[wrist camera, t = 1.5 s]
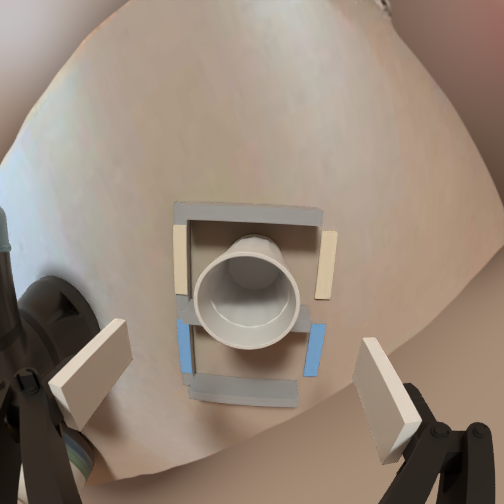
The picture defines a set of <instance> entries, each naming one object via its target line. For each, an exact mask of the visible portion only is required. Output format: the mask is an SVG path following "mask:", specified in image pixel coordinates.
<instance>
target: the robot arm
mask: <svg viewBox="0 0 504 504" xmlns="http://www.w3.org/2000/svg"><path fill="white" fill-rule="evenodd" d="M10 251H11V245H10V243H9V239H8V230H7V219H6V215H5V212H4V210H3V209H2V208H1V207H0V504H17V500H18V489H19V480H20V472H21V465H22V467H23V475H24V482H25V488H26V494H27V499H28V504H82V501H81V498H80V495H79V492H78V489H77V486H76V483H75V479H74V476H73V472H72V469H71V465H70V461H69V457H68V453H67V448H66V444H65V439H64V434H63V429H62V426H61V424H60V422H61V421H62V420H63V418H64V420H65V422H66V424H67V426H68V427H70V428H72V429H75V430H77V431H81V430H82V429H83V427H84V426H85V424H86V423H87V421H88V420H89V419H90V417H91V416H92V414H93V413H94V412H95V410H96V409H97V407H98V406H99V405H100V403H101V402H102V401H103V399H104V398H105V396H106V395H107V394H108V392H109V391H110V390H111V388H112V387H113V385H114V384H115V383H116V381H117V380H118V379H119V377H120V376H121V375H122V373H123V372H124V371H125V369H126V368H127V366H128V365H129V364H130V362H131V361H132V360H133V359H132V353H131V348H130V342H129V336H128V330H127V323H126V320H122V319H116V318H115V319H114V320H113V321H111V322H110V323H109V324H108V325H107V326H106V327H105V328H104V329H103V330H102V331H101V332H100V331H99V327H98V323H97V320H96V318H95V316H94V313H93V311H92V309H91V308H90V306H89V304H88V303H87V301H86V300H85V299H84V297H83V296H82V295H81V294H80V293H79V291H78V290H77V289H76V288H74V287H73V286H72V285H71V284H70V283H68V282H67V281H65V280H63V279H61V278H58V277H54V276H47V277H44V278H42V279H40V280H38V281H36V282H34V283H33V284H31V285H30V286H29V287H28V289H27V290H26V292H25V293H24V294H23V295H22V297H21V298H20V299H19V300H18V302H17V299H16V293H15V288H14V282H13V275H12V268H11V261H10ZM352 378H353V381H354V383H355V386H356V389H357V392H358V395H359V398H360V400H361V403H362V406H363V409H364V412H365V415H366V418H367V421H368V424H369V427H370V430H371V433H372V436H373V439H374V442H375V445H376V448H377V451H378V454H379V458H380V461H381V464H382V465H384V464H390V463H395V462H398V460H399V459H400V457H401V456H402V454H403V457H404V459H405V461H404V463H403V464H402V466H401V467H400V469H399V471H398V472H397V473H396V474H397V475H396V477H395V478H394V480H393V482H392V483H391V485H390V486H389V488H388V490H387V491H386V493H385V494H384V496H383V497H382V499H381V500H380V502H379V503H378V504H425V502H426V500H427V498H428V496H429V494H430V492H431V490H432V487H433V485H434V483H435V481H436V478H437V476H438V474H439V473H440V480H439V488H438V495H437V501H436V504H495V467H494V453H493V443H492V435H491V431H490V429H489V428H488V426H487V425H485V424H483V423H480V422H475V423H472V424H470V426H469V427H468V428H467V430H466V431H452V430H451V428H450V427H449V426H448V425H446V424H444V423H443V422H437V421H436V419H435V417H434V416H433V414H432V412H431V410H430V409H429V407H428V405H427V404H426V403H425V400H424V399H423V397H422V395H421V393H420V392H419V390H418V389H417V388H416V387H415V386H414V385H412V384H411V383H404V384H402V383H401V381H400V379H399V377H398V375H397V374H396V372H395V370H394V368H393V367H392V365H391V363H390V362H389V360H388V358H387V356H386V355H385V353H384V351H383V350H382V348H381V346H380V345H379V343H378V341H377V340H376V338H362V342H361V347H360V351H359V355H358V359H357V362H356V366H355V370H354V374H353V377H352Z"/></svg>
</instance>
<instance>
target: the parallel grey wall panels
mask: <svg viewBox="0 0 504 504" xmlns="http://www.w3.org/2000/svg"><path fill="white" fill-rule="evenodd" d="M322 218H323V211H322V210H320V209H318V208H316V207H302V206H286V205H268V204H247V203H220V202H174V225H173V243H174V278H175V294H176V302H177V318H178V319H177V329H178V342H179V353H180V363H181V372H182V375H183V384H184V385H190V388H189V390H188V392H189V399H194V400H201V401H209V402H218V403H227V404H238V405H251V406H268V407H297V406H298V401H299V396H298V387H297V380H269V379H252V378H239V377H227V376H217V375H208V374H200V373H195V364H194V349H193V332H192V325H200V326H202V325H201V323H200V321H199V319H198V317H197V315H196V312H195V308H194V298H191V281H190V220H211V221H235V222H256V223H275V224H292V225H308V226H322ZM337 233H338V232H337V231H321V242H320V253H319V263H318V273H317V282H316V290H315V299H330V294H331V287H332V279H333V271H334V262H335V253H336V244H337ZM311 322H312V320H311V316H310V312H309V309H308V305H300V310H299V314H298V317H297V320H296V322H295V324H294V326H293V327H292V329H291V330H290V331H289V332H310V335H309V342H308V349H307V355H306V361H305V367H304V373H303V376H317V371H318V366H319V361H320V356H321V350H322V345H323V339H324V333H325V327H326V325H325V324H311Z"/></svg>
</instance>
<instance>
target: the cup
mask: <svg viewBox="0 0 504 504" xmlns="http://www.w3.org/2000/svg"><path fill="white" fill-rule="evenodd" d="M194 308H195V312H196V315H197V317H198V319H199V321H200V323H201V325H202V326H203V328H204V329H205V330H206V331H207V332H208V333H209V334H210V335H211V336H212V337H213V338H215V339H216V340H218V341H219V342H221V343H223V344H225V345H227V346H230V347H233V348H238V349H246V350H251V349H260V348H264V347H267V346H270V345H272V344H274V343H276V342H278V341H279V340H281V339H282V338H283V337H284V336H286V335H287V334H288V332H289V331H290V330H291V329H292V327H293V326H294V324H295V322H296V320H297V317H298V314H299V310H300V294H299V290H298V287H297V284H296V282H295V280H294V278H293V276H292V275H291V273H290V271H289V269H288V267H287V266H286V264H285V262H284V260H283V258H282V254H281V251H280V249H279V247H278V246H277V244H276V243H275V242H274V241H273V240H271V239H270V238H268V237H266V236H263V235H259V234H250V235H246V236H243V237H241V238H239V239H238V240H236V241H235V242H234V243H233V245H232V246H231V247H230V248H229V249H228V250H227V251H226V252H225V253H224V254H222V255H221V256H220V257H218V258H217V259H216V260H215V261H213V262H212V263H211V264H210V265H209V266H207V268H206V269H205V270H204V271H203V272H202V274H201V275H200V277H199V279H198V281H197V283H196V286H195V290H194Z"/></svg>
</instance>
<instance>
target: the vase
mask: <svg viewBox="0 0 504 504" xmlns="http://www.w3.org/2000/svg"><path fill="white" fill-rule="evenodd" d="M60 424H61V426H62V429H63V434H64V439H65V444H66V448H67V453H68V457H69V461H70V465H71V469H72V472H73V476H74V479H75V483H76V486H77V489H78V492H79V493H80V491H81V490H82V488H83V486H84V484H85V482H86V481H87V479H88V477H89V475H90V473H91V471H92V469H93V466H94V453H93V451H92V449H91V447H90V445H89V444H88V443H87V441H86V440H85V439H84V438H83V437H82V436H81V435H80V434H79V433H78V432H77V431H76V430H74V429H72V428H70V427H68V426H67V424H66V423H64V422H63V421H61V422H60ZM18 500H19V501H20V502H21V503H23V504H28V499H27V494H26V488H25V482H24V475H23V467H22V465H21V472H20V480H19V489H18Z"/></svg>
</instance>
